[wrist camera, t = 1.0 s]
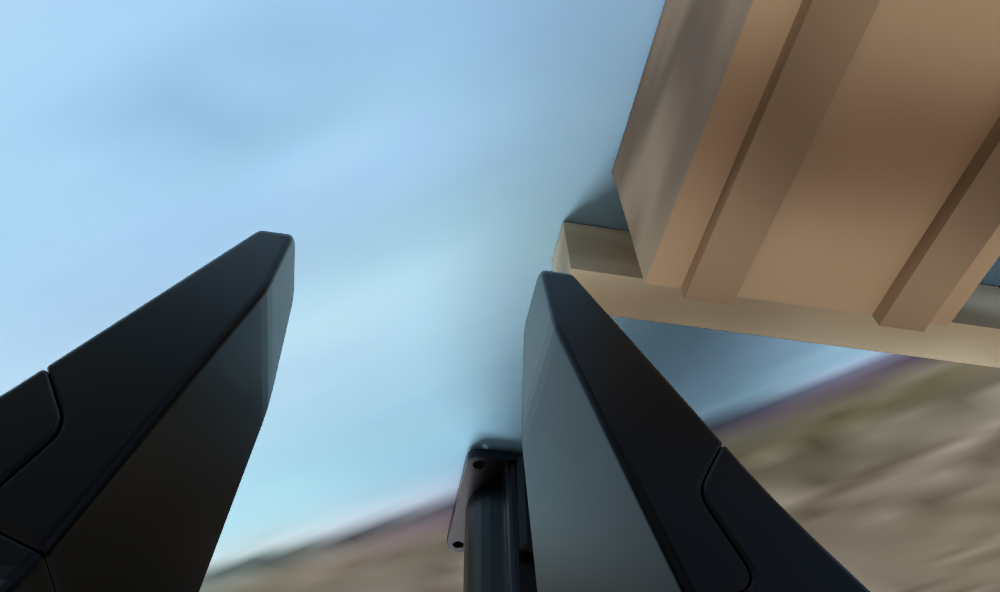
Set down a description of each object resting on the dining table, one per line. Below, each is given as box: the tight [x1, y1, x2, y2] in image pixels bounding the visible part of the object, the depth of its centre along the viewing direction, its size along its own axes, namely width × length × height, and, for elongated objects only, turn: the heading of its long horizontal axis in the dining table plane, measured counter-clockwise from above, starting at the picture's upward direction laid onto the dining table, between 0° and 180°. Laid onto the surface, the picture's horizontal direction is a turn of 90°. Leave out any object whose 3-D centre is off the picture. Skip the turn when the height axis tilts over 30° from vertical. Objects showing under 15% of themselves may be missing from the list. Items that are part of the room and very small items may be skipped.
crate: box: [612, 0, 1000, 332], centre depth 18 cm, size 8×8×6 cm
